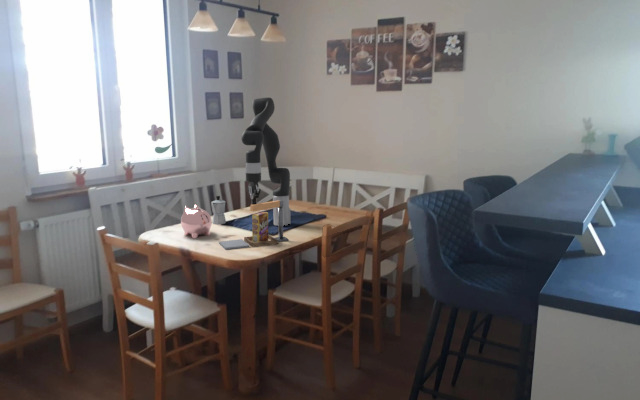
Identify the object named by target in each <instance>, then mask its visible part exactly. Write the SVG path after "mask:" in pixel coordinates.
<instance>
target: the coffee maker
mask: <svg viewBox="0 0 640 400" xmlns="http://www.w3.org/2000/svg"><path fill="white" fill-rule="evenodd" d="M215 197H216V199H215V200H213V201H211V202H210V204H211V205H210V206H211V210H212V214H213V215H212V219H211V220H212V224H213V225H224V224H226V223H227V220H226V215H225V211H226V207H227V204H228V203H227V201H226V200H225V199H221V195H216V196H215Z"/></svg>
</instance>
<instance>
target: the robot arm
mask: <svg viewBox="0 0 640 400" xmlns="http://www.w3.org/2000/svg"><path fill="white" fill-rule="evenodd" d="M251 104H252V111H253V113H254V114H253V115H254V117H253V119H252V120H251V121H250V124H249V126H248V127H247V128H246V129H245V130H244V131H243V132H242V134H241V143H242V144H243V145H245V146H255V147H254V149H249V150H247V151H245V182H248V186H247V187H246V189H247V192H248V196H249V197H250V200H251V201H250V202H251V204H250V205H254V204H258V202H257V199H259V198H260V197H259V196H260V195H261V192H262V191H261V188H260V185H259V182H262V166H261V164H262V163H261V151H262V147H263V150H264V154H265V159H266V163H267V170H268V175H269V176H268V177H269V180H270V182H271V183H272V184H279V185H280V187H279V188H276V189H274V190H272V201H277V200H283V227H284V225H285V226H289V225H288V224H290V225H291V224H292V223H291V219H292V218H291V208H290V184H291V183H290V182H291V181H290V180H291V179H290V178H291V173H290V170H289V168H288V167H278V166H277V161H276V160H277V157H278V154H279V151H280V148H281V144H280V140H279V136H278V133H277V132H276V131H275V130H274V129H273V128H272V127H271V126H270V125H269V124H268V123H267V122H268V121H269V119H270V118H271V117H272V116H273V114H274V112H275V102H274V99H273V98H272V97H261V98H260V97H259V98H255V99H252V103H251ZM272 209H273V210H272V213H273V215H272V216H273V218H272V219H273V225H274V226H278V207H276V208H272Z"/></svg>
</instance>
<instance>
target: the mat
mask: <svg viewBox="0 0 640 400" xmlns="http://www.w3.org/2000/svg"><path fill="white" fill-rule="evenodd" d="M218 244H219V245H220V246H221V247H222V249H224V250H226V251H227V250H237V249H244V248H250V245H249V244H248V243H246V242H245V241H244V239H241V238H240V239H230V240H222V241H221V240H220V241H218Z"/></svg>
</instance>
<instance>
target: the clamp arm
mask: <svg viewBox="0 0 640 400" xmlns="http://www.w3.org/2000/svg"><path fill="white" fill-rule="evenodd" d="M249 206H250V207H249V208H250V209H249V211H250V212H259V211H263V210H270V209H273V208H276V207H283V200H277V201H273V200H272V201H267V202H262V203H257V204H254V205H251V204H250V205H249Z"/></svg>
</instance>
